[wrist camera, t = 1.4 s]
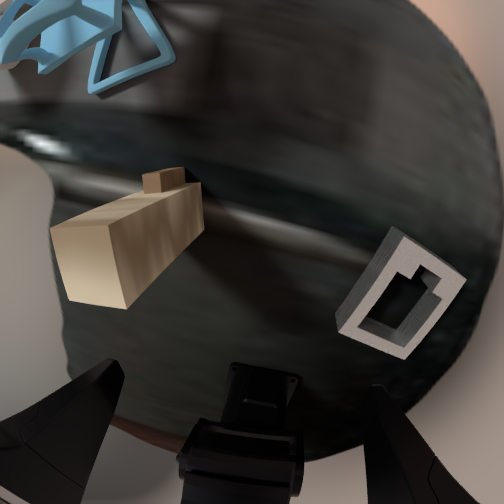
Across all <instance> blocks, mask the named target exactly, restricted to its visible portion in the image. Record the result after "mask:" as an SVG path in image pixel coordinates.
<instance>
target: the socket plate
mask: <svg viewBox="0 0 504 504" xmlns="http://www.w3.org/2000/svg"><path fill="white" fill-rule="evenodd" d="M420 264H421V265H422V266H424V267H425V268H426V269H425V271H424V273H423V274H422V276H421V277H420V278H421V279H422V280H423V282H424V283H425V284H426V285H427V286H428V288H427V290H426V291H425V292H424V294H423V295H422V297H421V298H420V299H419V301H418V302H417V304H416V305H415V306H414V308H413V309H412V310H411V312H410V313H409V314H408V316H407V317H406V318H405V319H404V321H403V322H402V323H401V325H400V326H399V327H398V328H397V330H395V329H393V328H391V327H389V326H387V325H385V324H382V323H380V322H378V321H376V320H374V319H372V318H370V317H368V316H366V315H367V313H368V312H369V311H370V309H371V308H372V307H373V305H374V304H375V303H376V301H377V300H378V298H379V297H380V296H381V294H382V293H383V291H384V290H385V289H386V287H387V286H388V284H389V283H390V281H391V280H392V278H393V277H394V275H395V274H396V272H399V273H401V274H402V275H404V276H406V277H407V278H409V279H411V278H412V276H413V275H414V273H415V272H416V270H417V269H418V267H419V265H420ZM465 281H466V279H465V278H464V277H463V276H462V275H461V274H460V273H459V272H458V271H457V270H456V269H455V268H454V267H453V266H451V265H450V264H449V263H447V262H446V261H444V260H443V259H442V258H440V257H439V256H437V255H436V254H434V253H433V252H432V251H430V250H429V249H427V248H426V247H424V246H423V245H421V244H420V243H418V242H417V241H415V240H414V239H412V238H411V237H409V236H408V235H406V234H405V233H403V232H402V231H400V230H399V229H397V228H395V227H394V226H392V227H391V228H390V230H389V232H388V233H387V235H386V237H385V238H384V240H383V242H382V243H381V245H380V247H379V248H378V250H377V252H376V253H375V255H374V256H373V258H372V260H371V261H370V263H369V264H368V266H367V267H366V269H365V270H364V272H363V274H362V275H361V277H360V278H359V280H358V281H357V283H356V284H355V286H354V287H353V288H352V290H351V291H350V293H349V294H348V296H347V297H346V299H345V300H344V302H343V303H342V304H341V306H340V307H339V309H338V310H337V311H336V313H335V317H336V322H337V328H338V332H339V333H341V334H344V335H346V336H348V337H351V338H353V339H355V340H358V341H360V342H362V343H365V344H367V345H369V346H372V347H374V348H377V349H379V350H382V351H384V352H386V353H389V354H391V355H394V356H396V357H399V358H401V359H404V360H405V359H406V358H407V356H408V355H409V354H410V353H411V352H412V351H413V350H414V349H415V347H416V346H417V345H418V344H419V343H420V342H421V340H422V339H423V338H424V337H425V336H426V334H427V333H428V332H429V331H430V329H431V328H432V327H433V326H434V324H435V323H436V322H437V321H438V319H439V318H440V317H441V315H442V314H443V313H444V311H445V310H446V309H447V307H448V306H449V304H450V303H451V302H452V300H453V299H454V297H455V296H456V295H457V293H458V292H459V290H460V289H461V287H462V286H463V284H464V283H465Z"/></svg>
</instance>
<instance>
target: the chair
mask: <svg viewBox="0 0 504 504" xmlns="http://www.w3.org/2000/svg"><path fill="white" fill-rule="evenodd" d="M127 1H128V2H129V3H130V5H131V6H132V8H133V10H134V12H135V14H136V15H137V17H138V19H139V20H140V22H141V23H142V25H143V26H144V28H145V29H146V31H147V32H148V34H149V35H150V37H151V38H152V40H153V41H154V43H155V44H156V46H157V47H158V49H159V51H160V52H161V56H159V57H158V58H155V59H153V60H150V61H147V62H145V63H142V64H139V65H137V66H134V67H132V68H130V69H127V70H125V71H123V72H120V73H118V74H116V75H113V76H111V77H109V78H107V79H105V80H103V81H101V82H100V79H101V74H102V70H103V67H104V63H105V59H106V56H107V52H108V49H109V45H110V42H111V39H112V35H113V34H114V33H117V32H119V31H121V30H122V9H121V5H122V0H14V1H13V2H12V4H11V5H10V6H9V7H8V8H7V9H6V11H5V12H4V13H3V15H2V17H1V19H0V62H1V65H2V64H7V63H12V62H17V61H21V60H25V59H34V60H36V61H38V74H45V75H47V74H48V73H50V72H51V71H53V70H54V69H56V68H57V67H58V66H60V65H61V64H62V63H64V62H65V61H66V60H67V59H69V58H70V57H71V56H73V55H75V54H76V53H78V52H79V51H81V50H83V49H84V48H86V47H88V46H90V45H92V44H94V43H96V42H97V45H96V48H95V52H94V56H93V60H92V64H91V69H90V74H89V79H88V93H90V94H99V93H101V92H103V91H105V90H107V89H109V88H111V87H114V86H116V85H118V84H120V83H123V82H125V81H127V80H130V79H132V78H134V77H137V76H139V75H142V74H144V73H147V72H150V71H152V70H155V69H158V68H161V67H163V66H166V65H169V64H172V63H173V62H174V61H175V53H174V51H173V49H172V46H171V45H170V43H169V41H168V39H167V38H166V36H165V34H164V33H163V31H162V29H161V28H160V26H159V25H158V23H157V21H156V20H155V18H154V16H153V15H152V13H151V11H150V10H149V8H148V6H147V4H146V1H145V0H127ZM24 3H26V4H29V5H31V6H34V7H33V8H31V9H30V10H29V11H27V12H26V13H25V14H23V15H22V16H21V17H19V18H18V19H17V20H16V21H15V22H13V24H12V21H13V18H14V16H15V15H16V13H17V11H18V10H19V9H20V7H21V6H22V5H23V4H24ZM41 32H42V33H41ZM40 33H41V44H40V47H34V48H29V49H26V50H24V49H25V48H26V47H27V45H28V44H29V43H30V42H31V41H32V40H33V39H34V38H35V37H37V36H38V35H39V34H40Z"/></svg>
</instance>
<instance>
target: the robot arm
mask: <svg viewBox="0 0 504 504" xmlns="http://www.w3.org/2000/svg"><path fill="white" fill-rule="evenodd" d="M234 367H236V368H234ZM124 378H125V376H124V372H123V370H122V368H121V366H120V364H119V362H118V361H117V360H114V359H110V358H108V359H106V360H104V361H102V362H101V363H99V364H98V365H96V366H95V367H93V368H91V369H90V370H88V371H87V372H85V373H83V374H82V375H80V376H79V377H77V378H76V379H74V380H72V381H71V382H69V383H68V384H66V385H64V386H63V387H61V388H60V389H58V390H56V391H55V392H53V393H52V394H50V395H48V396H47V397H45V398H44V399H42V400H41V401H39V402H37V403H35V404H34V405H32V406H30V407H29V408H27V409H25V410H23V411H21V412H19V413H17V414H15V415H13V416H11V417H9V418H7V419H5V420H3V421H1V422H0V504H80V503H81V500H82V497H83V494H84V491H85V488H86V485H87V482H88V479H89V477H90V474H91V471H92V468H93V465H94V463H95V460H96V457H97V455H98V452H99V449H100V447H101V444H102V442H103V439H104V436H105V434H106V432H107V429H108V427H109V424H110V422H111V419H112V417H113V414H114V412H115V409H116V406H117V402H118V399H119V395H120V392H121V389H122V386H123V382H124ZM292 379H294V380H292ZM297 383H298V376H297V375H295V374H290V373H284V372H279V371H274V370H268V369H263V368H259V367H254V366H249V365H245V364H240V363H236V362H234V363H231V365H230V368H229V373H228V379H227V384H226V390H225V395H224V401H223V402H224V404H225V407H224V410H223V414H222V417H221V421H220V422H214V421H209V420H207V419H204V418H200V419H199V421H198V423H197V424H195V426H194V428H193V430H192V431H191V433H190V435H189V437H188V439H187V440H186V442H185V444H184V446H183V447H182V449H181V451H180V453H179V454H178V455H177V456H176V461H177V463H178V465H179V478H180V479H181V480H183V481H184V484H183V492H182V499H181V504H289V502H290V497H298V496H299V494H300V491H301V486H302V482H303V475H304V445H303V431H285V420H286V408H287V405H288V403H289V401H290V399H291V397H292V394H293V392H294V390H295V388H296V385H297ZM363 445H364V455H365V465H366V479H367V494H368V504H480V503H478V502H477V501H476V500H475V499H474V498H473V497H472V496H471V495H470V494H469V493H468V492H467V491H466V490H465V489H464V488H463V487H462V486H461V485H460V484H459V483H458V482H457V481H456V480H455V479H454V477H453V476H452V475H451V474H450V473H449V472H448V471H447V469H446V468H445V467H444V465H443V464H442V463H441V461H440V460H439V459H438V458H437V456H435V454H434V452H433V451H432V450H431V448H430V447H429V446H428V444H427V443H426V441H425V440H424V439H423V438H422V436H421V435H420V433H419V432H418V431H417V430H416V428H415V427H414V425H413V424H412V423H411V422H410V420H409V419H408V418H407V416H406V415H405V414H404V412H403V411H402V410H401V408H400V407H399V406H398V404H397V403H396V402H395V401H394V399H393V398H392V397H391V395H390V394H389V393H388V392H387V390H386V389H385V388H384V386H383V385H380V384H379V385H371V386H370V387H369V389H368V391H367V393H366V396H365V398H364V402H363Z"/></svg>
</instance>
